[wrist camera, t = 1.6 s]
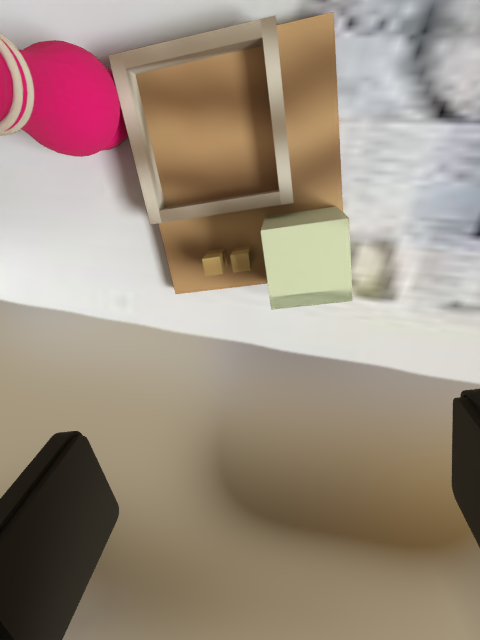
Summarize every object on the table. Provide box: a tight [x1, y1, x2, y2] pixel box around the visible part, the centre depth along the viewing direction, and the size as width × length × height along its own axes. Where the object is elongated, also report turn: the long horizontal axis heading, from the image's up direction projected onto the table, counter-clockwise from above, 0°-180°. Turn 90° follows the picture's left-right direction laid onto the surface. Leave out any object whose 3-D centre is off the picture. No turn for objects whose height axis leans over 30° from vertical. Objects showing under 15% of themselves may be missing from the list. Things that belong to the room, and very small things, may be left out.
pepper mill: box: [0, 33, 128, 157], centre depth 22 cm, size 7×7×20 cm
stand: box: [108, 12, 343, 294], centre depth 30 cm, size 19×16×4 cm
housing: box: [261, 206, 352, 309], centre depth 29 cm, size 6×6×6 cm
